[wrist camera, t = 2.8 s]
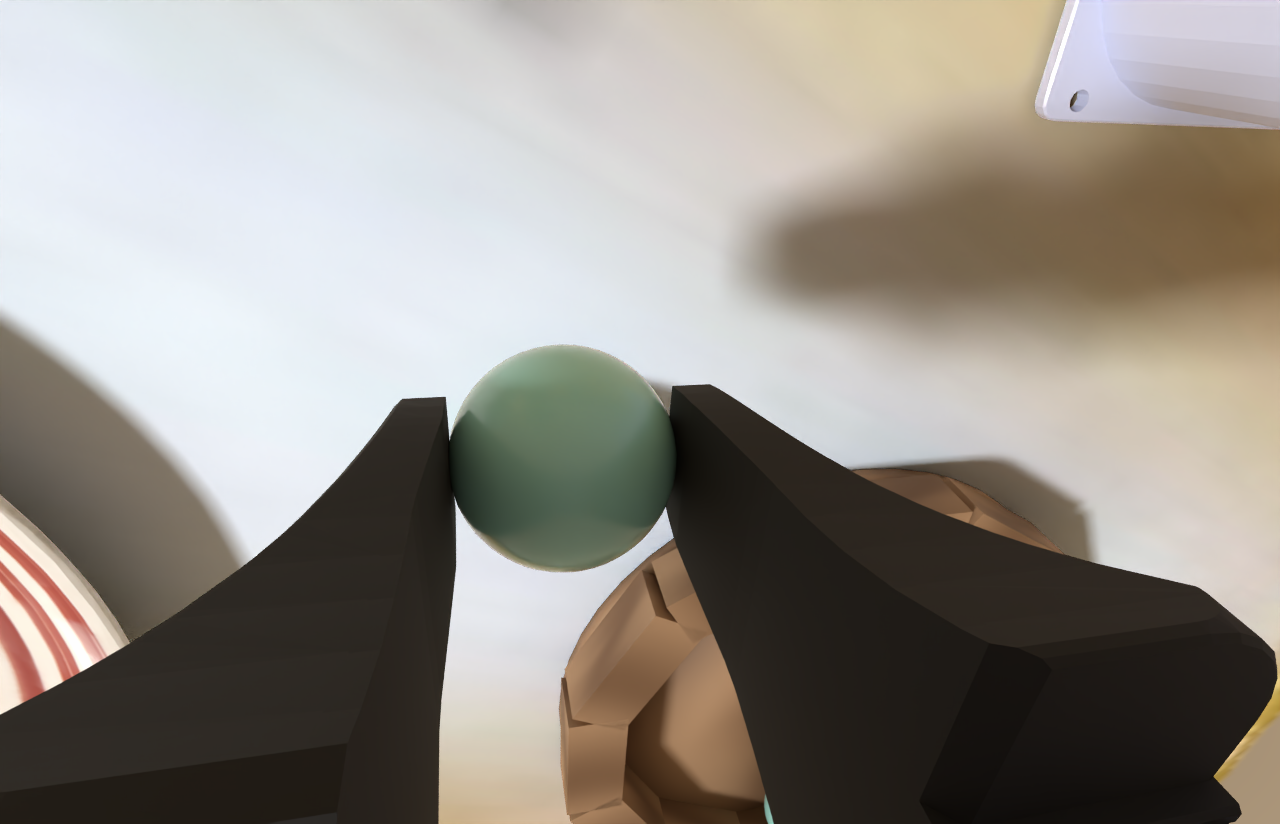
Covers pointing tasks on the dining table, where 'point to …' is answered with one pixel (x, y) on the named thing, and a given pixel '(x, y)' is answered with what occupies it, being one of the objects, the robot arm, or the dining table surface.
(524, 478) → the bead
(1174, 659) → the robot arm
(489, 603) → the dining table surface
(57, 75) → the dining table surface
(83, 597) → the dinner plate
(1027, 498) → the dining table surface
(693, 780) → the ring tray
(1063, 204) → the dining table surface
